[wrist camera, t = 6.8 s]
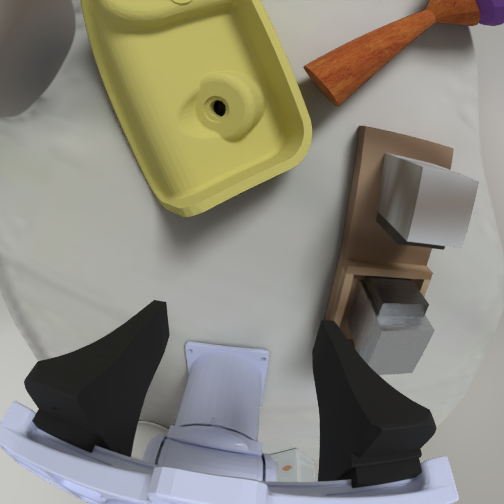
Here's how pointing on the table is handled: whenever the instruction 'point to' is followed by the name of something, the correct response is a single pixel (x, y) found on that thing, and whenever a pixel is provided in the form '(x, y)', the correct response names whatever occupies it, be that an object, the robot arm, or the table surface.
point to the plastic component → (199, 95)
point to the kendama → (392, 44)
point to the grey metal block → (389, 324)
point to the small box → (294, 466)
